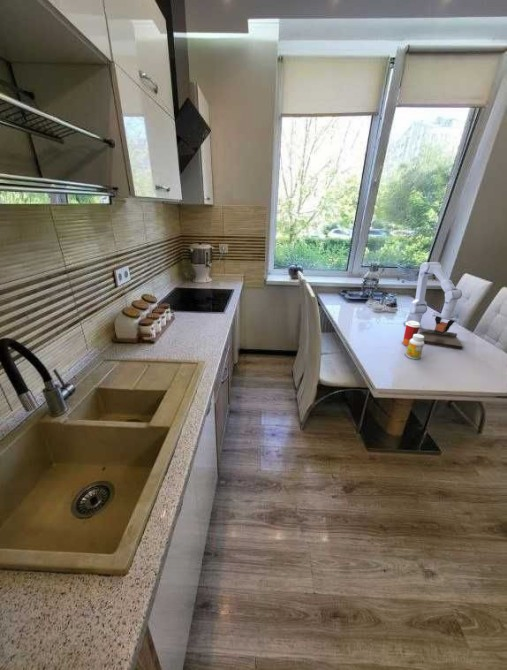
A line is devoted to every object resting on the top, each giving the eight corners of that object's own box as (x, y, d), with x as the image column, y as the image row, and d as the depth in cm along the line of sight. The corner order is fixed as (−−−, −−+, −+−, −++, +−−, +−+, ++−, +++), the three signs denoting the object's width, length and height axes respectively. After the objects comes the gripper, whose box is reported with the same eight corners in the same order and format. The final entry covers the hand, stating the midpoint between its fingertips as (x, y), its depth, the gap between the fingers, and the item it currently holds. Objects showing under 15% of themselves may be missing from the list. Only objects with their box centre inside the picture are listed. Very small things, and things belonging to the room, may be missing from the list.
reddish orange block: (441, 334, 166) (444, 327, 164) (433, 331, 169) (436, 324, 168) (448, 329, 173) (451, 323, 171) (440, 327, 176) (443, 320, 174)
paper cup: (413, 342, 169) (419, 321, 163) (416, 347, 162) (422, 326, 156) (399, 340, 171) (405, 319, 165) (401, 345, 164) (407, 324, 159)
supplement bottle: (403, 353, 156) (409, 332, 151) (415, 353, 156) (421, 333, 151) (409, 359, 150) (415, 338, 144) (422, 359, 149) (428, 338, 144)
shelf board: (423, 343, 168) (425, 337, 166) (419, 333, 181) (421, 327, 180) (461, 349, 161) (464, 343, 160) (454, 338, 175) (456, 333, 173)
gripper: (464, 311, 162) (457, 332, 168) (437, 305, 172) (431, 325, 178) (460, 313, 158) (453, 335, 164) (433, 307, 168) (427, 327, 174)
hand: (441, 330), depth 171 cm, fingers closed on reddish orange block, 4 cm apart
